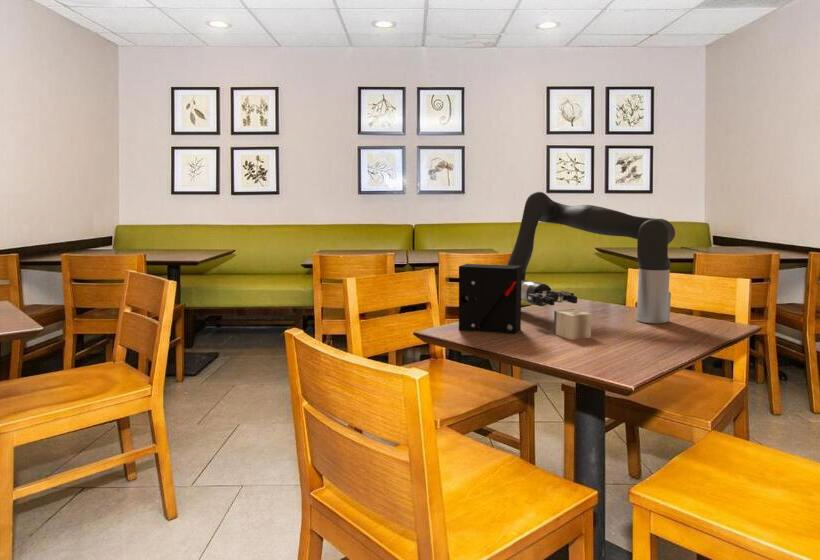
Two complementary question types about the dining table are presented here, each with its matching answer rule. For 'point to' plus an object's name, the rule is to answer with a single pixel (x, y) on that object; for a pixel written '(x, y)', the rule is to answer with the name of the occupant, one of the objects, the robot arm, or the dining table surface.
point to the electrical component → (490, 298)
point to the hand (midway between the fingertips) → (565, 301)
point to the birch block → (572, 324)
